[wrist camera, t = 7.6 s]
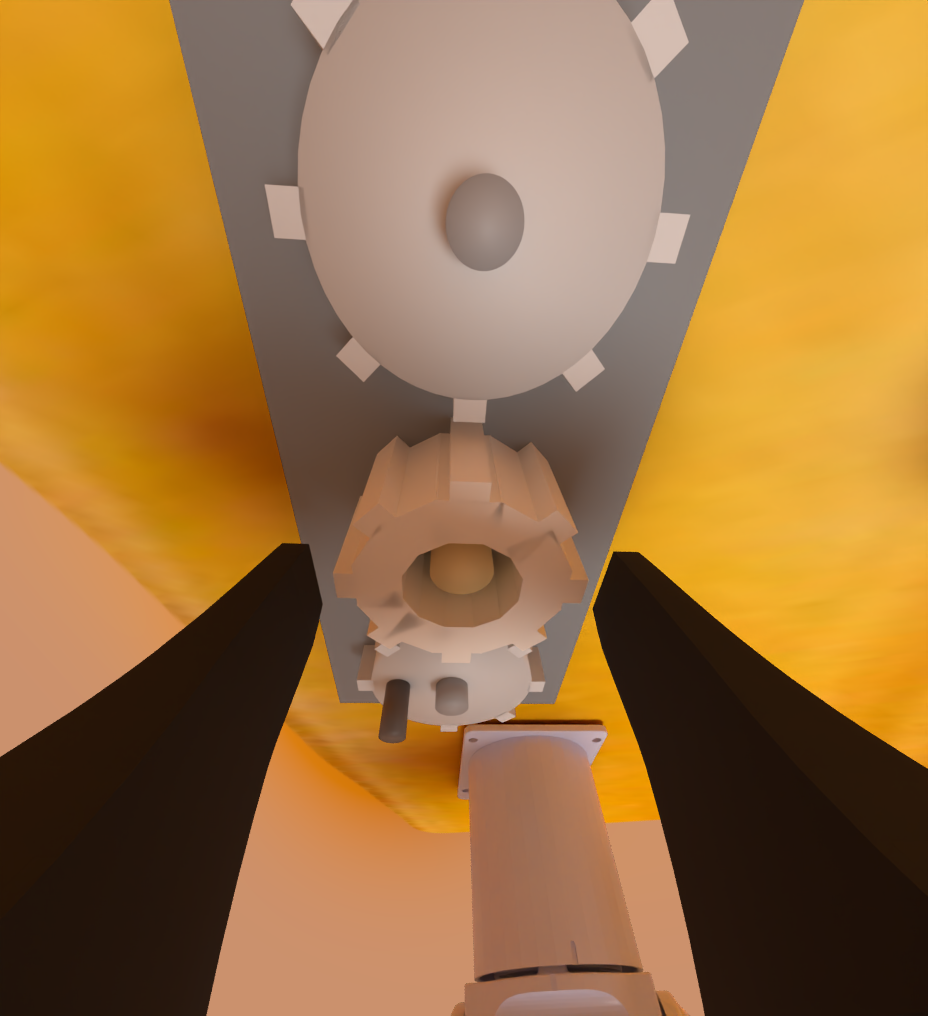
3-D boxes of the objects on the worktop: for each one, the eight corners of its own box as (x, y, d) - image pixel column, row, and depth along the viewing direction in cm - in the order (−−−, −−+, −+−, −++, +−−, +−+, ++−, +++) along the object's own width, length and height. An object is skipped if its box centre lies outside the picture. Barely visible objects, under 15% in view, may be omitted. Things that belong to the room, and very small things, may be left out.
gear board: (549, 679, 19) (572, 784, 16) (346, 678, 19) (319, 786, 15) (777, -36, 7) (1174, -369, 3) (181, -100, 6) (-219, -593, 3)
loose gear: (539, 581, 14) (559, 664, 11) (369, 577, 13) (348, 661, 11) (577, 423, 10) (620, 488, 8) (351, 412, 10) (314, 475, 7)
